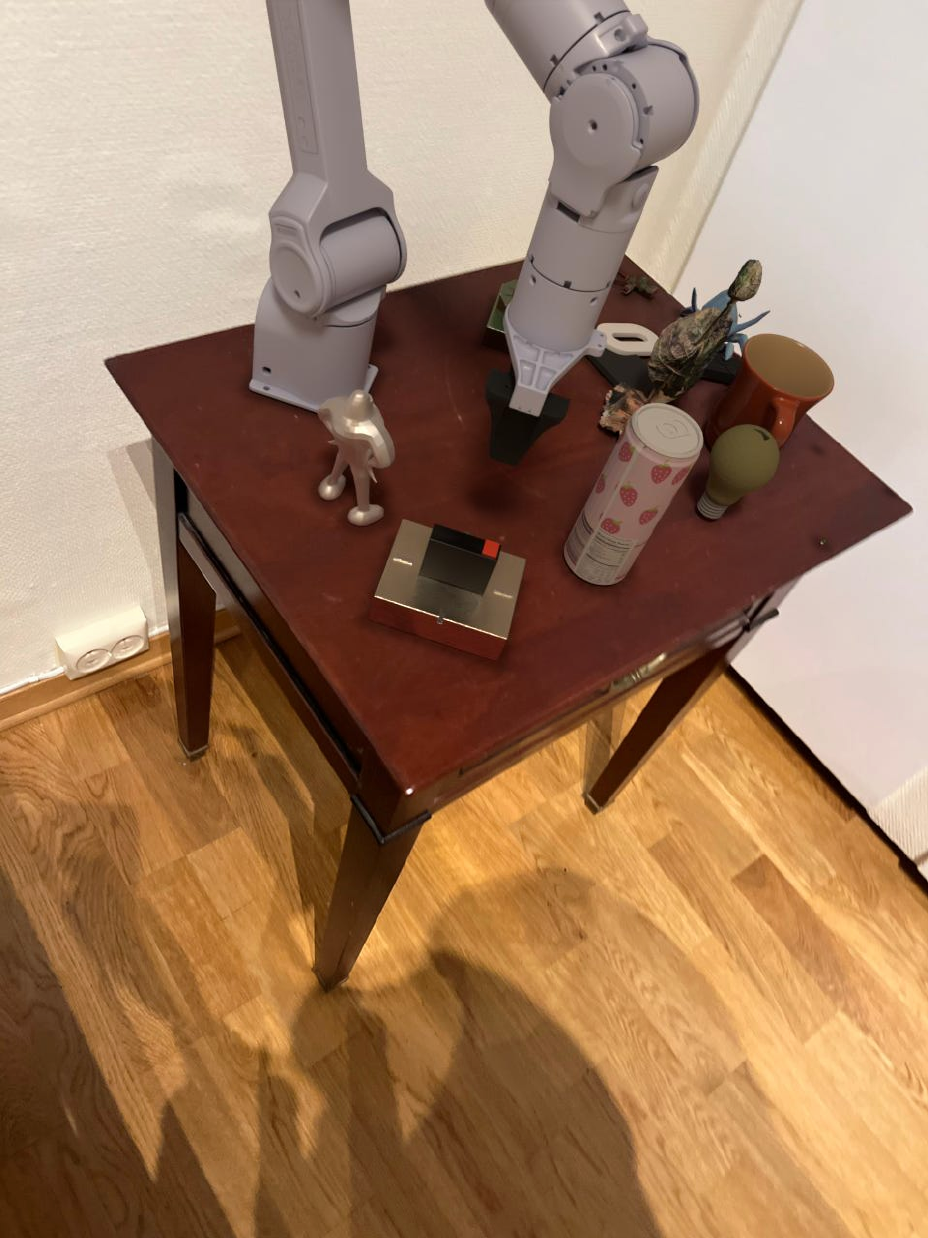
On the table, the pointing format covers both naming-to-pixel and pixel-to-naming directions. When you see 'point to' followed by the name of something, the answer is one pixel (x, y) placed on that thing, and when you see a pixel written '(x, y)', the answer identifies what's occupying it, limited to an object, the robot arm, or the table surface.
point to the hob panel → (445, 598)
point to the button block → (499, 319)
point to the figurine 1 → (356, 450)
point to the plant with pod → (682, 352)
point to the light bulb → (738, 467)
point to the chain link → (628, 331)
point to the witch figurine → (637, 284)
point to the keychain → (625, 370)
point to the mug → (771, 388)
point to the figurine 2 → (723, 363)
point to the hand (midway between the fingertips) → (512, 426)
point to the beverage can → (633, 492)
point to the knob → (460, 558)
